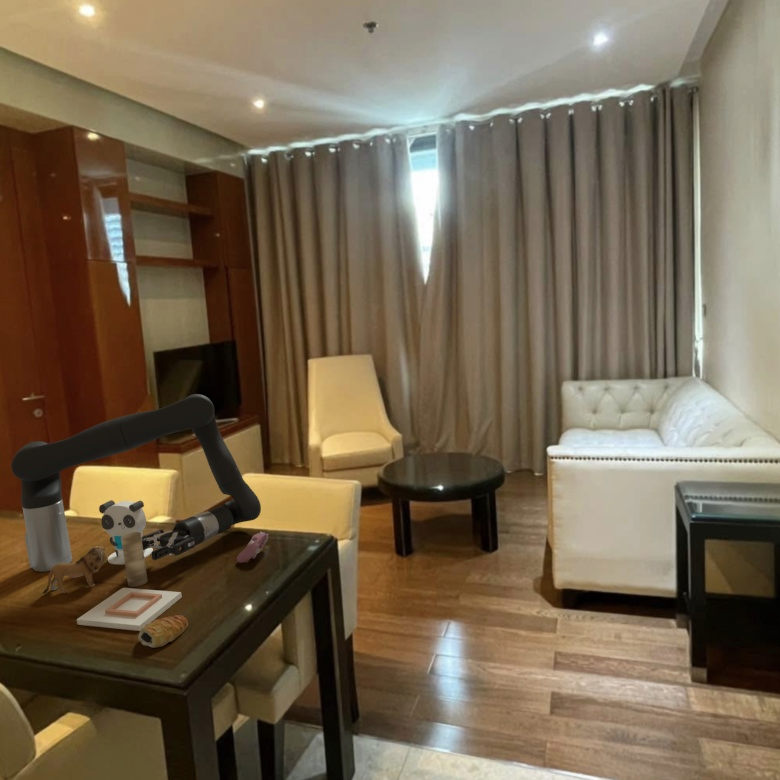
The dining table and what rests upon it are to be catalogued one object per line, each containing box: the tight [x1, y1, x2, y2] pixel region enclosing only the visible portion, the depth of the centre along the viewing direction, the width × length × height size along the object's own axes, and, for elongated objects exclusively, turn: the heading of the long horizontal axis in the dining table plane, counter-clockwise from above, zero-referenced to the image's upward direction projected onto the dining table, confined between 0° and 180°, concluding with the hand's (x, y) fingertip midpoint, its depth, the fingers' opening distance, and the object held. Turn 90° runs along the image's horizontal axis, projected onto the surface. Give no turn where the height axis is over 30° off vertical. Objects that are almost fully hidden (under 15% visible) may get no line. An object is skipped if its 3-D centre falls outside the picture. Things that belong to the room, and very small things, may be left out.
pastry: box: [137, 614, 189, 649], centre depth 120 cm, size 9×7×4 cm
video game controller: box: [236, 531, 270, 564], centre depth 155 cm, size 10×5×7 cm, turn 169°
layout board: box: [76, 587, 183, 632], centre depth 131 cm, size 16×14×2 cm
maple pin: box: [121, 532, 149, 588], centre depth 144 cm, size 4×4×12 cm
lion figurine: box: [42, 545, 108, 595], centre depth 145 cm, size 15×5×9 cm, turn 118°
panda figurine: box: [98, 499, 154, 565], centre depth 161 cm, size 12×11×15 cm
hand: (142, 553), depth 146 cm, fingers open, 8 cm apart
